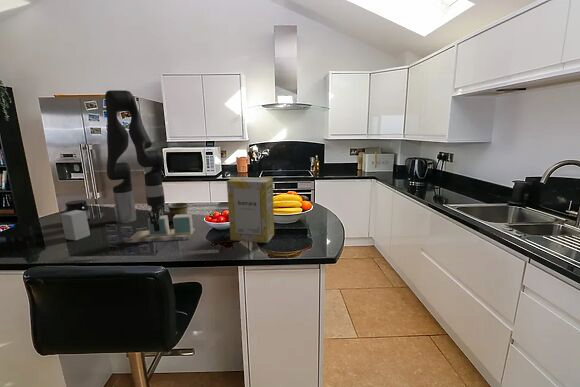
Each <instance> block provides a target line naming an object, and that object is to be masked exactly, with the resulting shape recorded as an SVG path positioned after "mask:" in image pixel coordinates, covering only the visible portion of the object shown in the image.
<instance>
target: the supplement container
mask: <svg viewBox="0 0 580 387" xmlns="http://www.w3.org/2000/svg"><path fill="white" fill-rule="evenodd" d="M74 210H79V211H86V216H87V221H88V223H89V222H91V220H92V218H91V215H90V214H91V213H90V206H89V205H88V203H87V200H86V199H76V200H71V201H67V202H65V213H67V212H70V211H74Z"/></svg>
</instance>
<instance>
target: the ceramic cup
mask: <svg viewBox="0 0 580 387" xmlns="http://www.w3.org/2000/svg"><path fill="white" fill-rule="evenodd" d="M188 208H189V203H187V202H175V203H171V204H169V205H168V210H169V213H170V217H171V219H172V221H173V217H174V216H175V215H180V214H188Z"/></svg>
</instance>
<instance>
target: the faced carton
mask: <svg viewBox="0 0 580 387" xmlns="http://www.w3.org/2000/svg"><path fill="white" fill-rule="evenodd" d="M172 223H173V229H174V232H175V236H178V235H191V234H192V233H194V232H193V228H194V225H193V224H194V223H193V216H192V213H187V214H180V215H175V216H174V217H173V220H172ZM192 235H193V234H192ZM192 235H191V236H192Z"/></svg>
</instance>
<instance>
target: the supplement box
mask: <svg viewBox="0 0 580 387" xmlns="http://www.w3.org/2000/svg"><path fill="white" fill-rule="evenodd" d="M59 216H60V219H61V223H62V224H61V225H62V228H63V233H64V238H65V240H70V241H78V240H81V239H83V238H86V237H89V236H90V235H91V232H90V226H89V222H88V221H87V216H86V211H79V210H74V211H70V212H67V213H66V212H63V213H60V215H59Z"/></svg>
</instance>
